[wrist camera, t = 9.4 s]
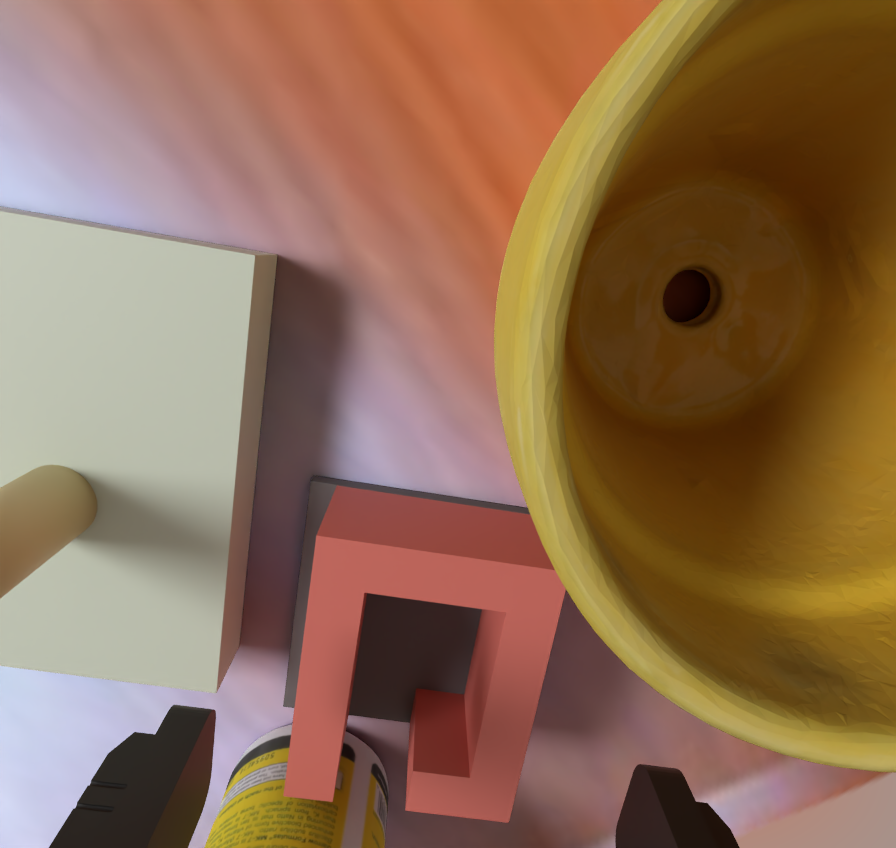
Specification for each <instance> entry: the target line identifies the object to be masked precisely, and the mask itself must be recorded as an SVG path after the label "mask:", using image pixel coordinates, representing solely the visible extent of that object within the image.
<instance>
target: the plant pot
mask: <svg viewBox="0 0 896 848" xmlns="http://www.w3.org/2000/svg"><path fill="white" fill-rule="evenodd" d="M683 270H696V271H698V272H700V273H702V274H703V275H704V276H705V277H706V279H707V280H708V282H709V285H710V300H709V302H708V305H707V307H706V308H705V310H704V311H703V312H702V313H701V314H700V315H699V316H698V317H696V318H694V319H692V320H690V321H687V322H676V321H673V320H671V319H670V318H669V317H668V316H667V314H666V312H665V310H664V306H663V296H664V292H665V290H666V287H667V285H668V283H669V282H670V281H671V279H672V278H673V277H674V276H675V275H676V274H677V273H679V272H681V271H683ZM494 358H495V377H496V385H497V393H498V401H499V407H500V413H501V418H502V422H503V427H504V431H505V436H506V441H507V445H508V448H509V452H510V455H511V459H512V462H513V466H514V469H515V473H516V476H517V479H518V481H519V484H520V487H521V490H522V493H523V495H524V498H525V501H526V504H527V507H528V510H529V512H530V515H531V518H532V520H533V522H534V525H535V527H536V530H537V532H538V535H539V537H540V540H541V542H542V545H543V547H544V549H545V551H546V553H547V555H548V557H549V559H550V561H551V563H552V565H553V567H554V569H555V571H556V573H557V575H558V576H559V578H560V580H561V582H562V584H563V585H564V587H565V589H566V590H567V592H568V593H569V595H570V596H571V598H572V600H573V601H574V603H575V604H576V606H577V607H578V609H579V611H580V612H581V613H582V615H583V616H584V617H585V619H586V620H587V621H588V623H589V624H590V625H591V627H592V628H593V630H594V631H595V632H596V633H597V634H598V636H599V637H600V638H601V639H602V640H603V641H604V642H605V644H606V645H607V646H608V647H609V648H610V649H611V650H612V651H613V652H614V653H615V654H616V655H617V656H618V657H619V658H620V659H621V661H622V662H623V663H624V664H625V665H626V666H627V667H628V668H629V669H631V670H632V671H633V672H634V673H635V674H637V675H638V676H639V677H640V678H641V679H643V680H644V681H645V682H646V683H647V684H649V685H650V686H651V687H652V688H654V689H655V690H656V691H657V692H658V693H660V694H661V695H663V696H664V697H666V698H667V699H669V700H670V701H671V702H673V703H674V704H676V705H677V706H679V707H680V708H682V709H683V710H685V711H687V712H689V713H690V714H692V715H694V716H695V717H697V718H699V719H700V720H702V721H704V722H706V723H707V724H709V725H711V726H713V727H715V728H717V729H719V730H721V731H723V732H725V733H727V734H730V735H732V736H734V737H736V738H738V739H741V740H744V741H746V742H749V743H752V744H754V745H757V746H760V747H763V748H766V749H769V750H772V751H774V752H777V753H780V754H783V755H787V756H791V757H794V758H798V759H802V760H806V761H810V762H814V763H818V764H824V765H830V766H836V767H842V768H850V769H859V770H868V771H877V772H896V0H662V1H661V2H660V4H659V5H658V6H657V7H656V8H655V9H654V10H653V11H652V12H651V14H650V15H649V16H648V17H647V18H646V19H645V20H644V21H643V22H642V23H641V25H640V26H639V27H638V28H637V29H636V30H635V31H634V32H633V33H632V35H631V36H630V37H629V38H628V39H627V40H626V41H625V42H624V43H623V44H622V46H621V47H620V48H619V49H618V50H617V52H616V53H615V54H614V55H613V57H612V58H611V59H610V60H609V62H608V63H607V64H606V66H605V67H604V68H603V69H602V71H601V72H600V73H599V74H598V76H597V77H596V78H595V80H594V81H593V82H592V84H591V85H590V86H589V88H588V89H587V90H586V92H585V93H584V94H583V96H582V97H581V98H580V100H579V101H578V103H577V104H576V106H575V107H574V109H573V111H572V112H571V114H570V115H569V117H568V118H567V120H566V121H565V123H564V125H563V126H562V128H561V129H560V131H559V132H558V134H557V135H556V137H555V139H554V141H553V142H552V144H551V146H550V148H549V150H548V151H547V153H546V155H545V157H544V159H543V161H542V163H541V164H540V166H539V168H538V170H537V172H536V174H535V176H534V178H533V180H532V181H531V184H530V186H529V189H528V191H527V194H526V196H525V199H524V201H523V204H522V206H521V209H520V211H519V213H518V216H517V218H516V221H515V225H514V228H513V231H512V234H511V237H510V240H509V244H508V247H507V250H506V254H505V258H504V263H503V267H502V271H501V277H500V283H499V289H498V295H497V303H496V316H495V329H494Z"/></svg>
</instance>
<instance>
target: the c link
mask: <svg viewBox="0 0 896 848" xmlns="http://www.w3.org/2000/svg"><path fill="white" fill-rule="evenodd" d="M565 591H566V589H565V587H564V585H563V584H562V582H561V580H560V578H559V576H558V575H557V573H556V571H555V569H554V567H553V565H552V563H551V561H550V559H549V557H548V555H547V553H546V551H545V549H544V547H543V545H542V542H541V540H540V537H539V535H538V532H537V530H536V527H535V525H534V522H533V520H532V518H531V515H530V514H523V513H517V512H510V511H503V510H497V509H490V508H483V507H477V506H470V505H464V504H457V503H450V502H444V501H437V500H430V499H424V498H417V497H411V496H404V495H397V494H391V493H384V492H377V491H371V490H364V489H357V488H351V487H344V486H338V485H337V486H336V489H335V491H334V494H333V496H332V499H331V501H330V503H329V506H328V508H327V511H326V513H325V516H324V518H323V521H322V523H321V525H320V528H319V530H318V533H317V535H316V542H315V550H314V558H313V566H312V574H311V582H310V590H309V598H308V606H307V613H306V621H305V629H304V637H303V645H302V653H301V661H300V669H299V677H298V684H297V692H296V700H295V708H294V716H293V724H292V732H291V740H290V748H289V756H288V763H287V771H286V779H285V787H284V795H283V796H286V797H294V798H303V799H311V800H320V801H328V802H333V797H334V791H335V786H336V780H337V775H338V769H339V764H340V758H341V753H342V748H343V742H344V737H345V731H346V726H347V720H348V715H349V708H350V702H351V695H352V689H353V682H354V676H355V669H356V663H357V656H358V649H359V643H360V636H361V630H362V623H363V617H364V610H365V604H366V597H367V593H371V594H378V595H385V596H392V597H399V598H406V599H413V600H421V601H428V602H435V603H442V604H449V605H456V606H463V607H471V608H478V609H482V611H481V616H480V621H479V626H478V631H477V635H476V640H475V645H474V650H473V655H472V659H471V664H470V669H469V674H468V679H467V683H466V688H465V693H464V694H456V693H449V692H441V691H433V690H426V689H418V688H416V692H415V698H414V703H413V708H412V714H411V719H410V729H409V749H408V769H407V789H406V809H405V811H413V812H422V813H430V814H439V815H447V816H456V817H464V818H473V819H481V820H489V821H498V822H506V823H509V820H510V816H511V812H512V807H513V803H514V799H515V795H516V791H517V787H518V783H519V779H520V775H521V771H522V767H523V763H524V758H525V754H526V750H527V746H528V742H529V738H530V734H531V730H532V726H533V722H534V718H535V714H536V709H537V705H538V701H539V697H540V693H541V689H542V685H543V681H544V677H545V673H546V669H547V665H548V660H549V656H550V652H551V648H552V644H553V640H554V636H555V632H556V628H557V624H558V620H559V616H560V611H561V607H562V603H563V599H564V595H565Z"/></svg>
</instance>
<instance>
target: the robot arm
mask: <svg viewBox="0 0 896 848" xmlns="http://www.w3.org/2000/svg"><path fill="white" fill-rule="evenodd" d="M215 721H216V713H215V710H212V709H204V708H196V707H188V706H180V705H173V706H172V707H171V708H170V710H169V711H168V713H167V715H166V717H165V718H164V720H163V722H162V724H161V725H160V727H159V729H158V731H157V733H156V734H155V735H154V734H145V733H137V732H134V733H133V734H132V735H131V736H129V737H128V738H127V739H126V740H125V741H123V742H122V743H121V744H120V745H118V746H117V747H116V748H115V749H113V750H112V751H111V752H110V753H108V755H107V757H106V758H105V760H104V761H103V763H102V764H101V766H100V768H99V769H98V771H97V772H96V774H95V776H94V777H93V779H92V780H91V784H90V786H88V787H87V788H86V790H85V791H84V793H83V795H82V796H81V798H80V799H79V801H78V802H77V806H76V808H75V809H73V810H72V812H71V814H70V815H69V817H68V818H67V820H66V821H65V823H64V825H63V826H62V828H61V829H60V831H59V833H58V834H57V836H56V837H55V839H54V840H53V842H52V844H51V845H50V847H49V848H188V846H189V843H190V841H191V838H192V836H193V833H194V831H195V828H196V826H197V823H198V821H199V818H200V816H201V813H202V810H203V807H204V804H205V801H206V797H207V793H208V789H209V785H210V779H211V770H212V758H213V745H214V733H215ZM616 848H739V846H738V844H737V842H736V840H735V838H734V836H733V834H732V832H731V830H730V828H729V827H728V826H727V825H726V824H725V823H724V821H723V820H722V819H721V818H720V817H719V816H718V815H717V813H716V812H715V811H714V810H713V809H712V808H711V807H710V806H709V804H708V803H702V802H696V801H695V799H694V797H693V795H692V792H691V790H690V788H689V786H688V784H687V782H686V779H685V777H684V776H683V774H682V772H681V771H680V770H678V769H675V768H667V767H659V766H651V765H643V764H639V765H637V766H636V768H635V769H634V772H633V775H632V778H631V781H630V785H629V788H628V791H627V794H626V797H625V801H624V804H623V807H622V810H621V814H620V817H619V820H618V823H617V828H616Z"/></svg>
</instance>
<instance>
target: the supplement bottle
mask: <svg viewBox="0 0 896 848" xmlns="http://www.w3.org/2000/svg"><path fill="white" fill-rule="evenodd" d="M291 732H292V724H291V725H287V726H283V727H280V728H277V729H275V730H272V731H270V732H268V733H267V734H265V735H263V736H262V737H260V738H259V739H258V740H256V741H255V742H254V743H253V744H252V745H251V746H250V747H249V748H248V749H247V750H246V751H245V752H244V754H243V755H242V757H241V758H240V760H239V761H238V763H237V765H236V767H235V769H234V771H233V772H232V775H231V777H230V780H229V782H228V785H227V788H226V792H225V794H224V797H223V799H222V802H221V805H220V808H219V811H218V813H217V816H216V819H215V821H214V824H213V826H212V829H211V832H210V834H209V837H208V840H207V842H206V845H205V848H385V835H386V822H387V811H388V781H387V776H386V772H385V770H384V767H383V765H382V763H381V761H380V760H379V758H378V756H377V755H376V754H375V753H374V751H373V750H372V749H371V748H370V747H369V746H368V745H366V744H365V743H364V742H363V741H361V740H360V739H358V738H357V737H355V736H353V735H352V734H350V733H348V732H346V731H345V737H344V742H343V748H342V753H341V758H340V764H339V769H338V775H337V780H336V786H335V791H334V797H333V802H328V801H320V800H311V799H303V798H294V797H286V796H283V795H284V787H285V779H286V771H287V763H288V756H289V748H290V740H291Z"/></svg>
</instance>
